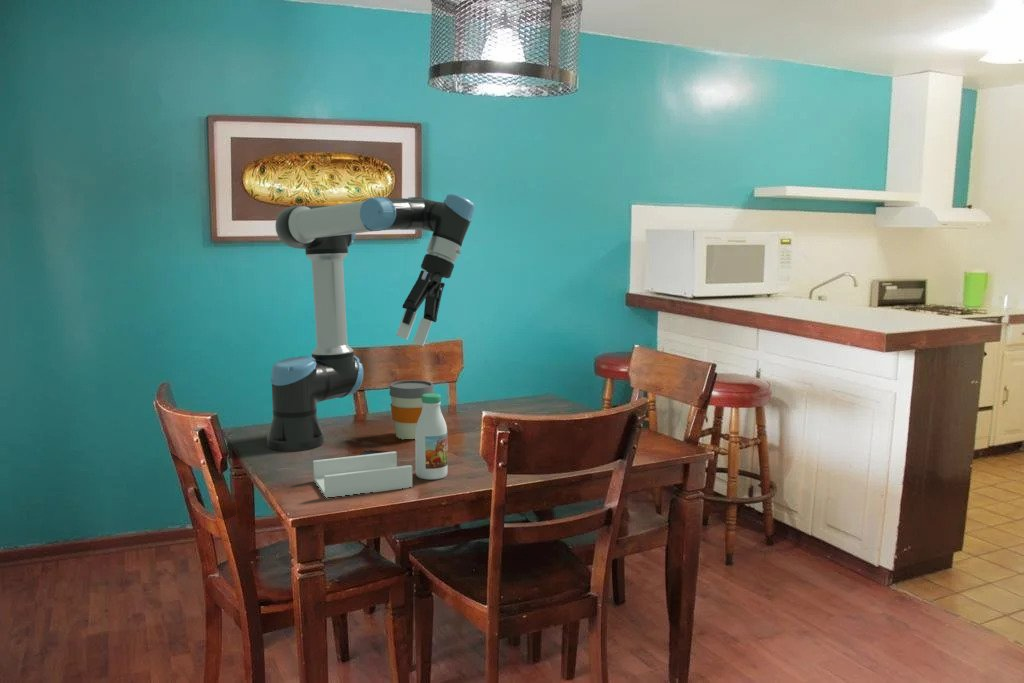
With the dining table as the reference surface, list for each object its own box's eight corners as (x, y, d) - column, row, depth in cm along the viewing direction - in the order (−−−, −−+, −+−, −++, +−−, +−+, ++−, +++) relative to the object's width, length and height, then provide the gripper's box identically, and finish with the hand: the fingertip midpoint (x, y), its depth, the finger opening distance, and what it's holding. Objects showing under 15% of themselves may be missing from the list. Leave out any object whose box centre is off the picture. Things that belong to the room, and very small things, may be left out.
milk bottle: (413, 480, 196) (412, 397, 193) (418, 470, 203) (417, 391, 200) (445, 480, 195) (445, 398, 192) (449, 471, 203) (449, 391, 200)
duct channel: (313, 481, 194) (313, 460, 193) (395, 471, 202) (395, 451, 202) (325, 498, 182) (325, 476, 181) (412, 487, 190) (412, 466, 190)
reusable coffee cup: (388, 441, 229) (388, 389, 226) (391, 430, 241) (390, 380, 239) (434, 441, 230) (433, 388, 228) (434, 429, 242) (433, 379, 240)
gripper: (441, 251, 185) (409, 340, 184) (466, 273, 209) (437, 351, 208) (411, 241, 186) (379, 329, 185) (439, 264, 211) (410, 342, 210)
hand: (410, 341), depth 197 cm, fingers open, 13 cm apart
